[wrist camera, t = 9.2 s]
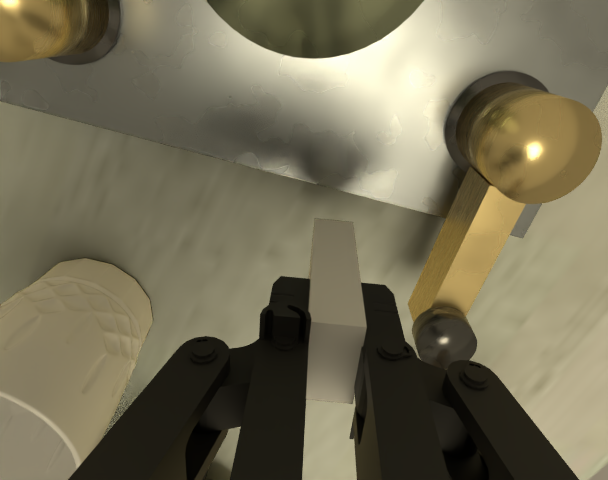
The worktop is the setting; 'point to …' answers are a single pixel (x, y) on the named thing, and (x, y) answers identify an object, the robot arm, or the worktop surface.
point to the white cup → (66, 365)
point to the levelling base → (321, 82)
